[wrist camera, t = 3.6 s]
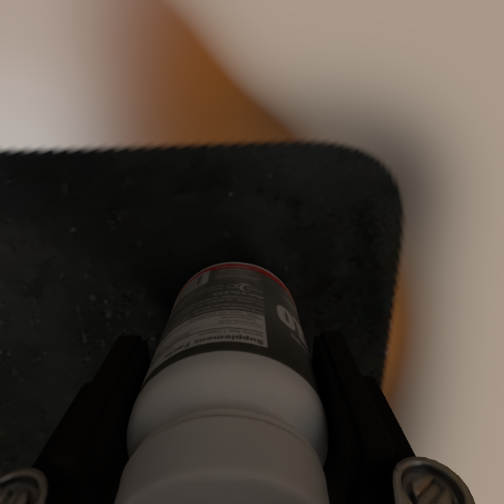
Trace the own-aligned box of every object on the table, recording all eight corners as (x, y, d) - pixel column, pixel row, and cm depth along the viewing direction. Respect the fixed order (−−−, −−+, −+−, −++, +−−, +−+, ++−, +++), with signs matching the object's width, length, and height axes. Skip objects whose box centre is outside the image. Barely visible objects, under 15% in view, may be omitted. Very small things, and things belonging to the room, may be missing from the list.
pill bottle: (300, 356, 15) (366, 627, 7) (188, 370, 15) (123, 652, 7) (288, 249, 13) (359, 440, 5) (163, 266, 13) (41, 478, 5)
